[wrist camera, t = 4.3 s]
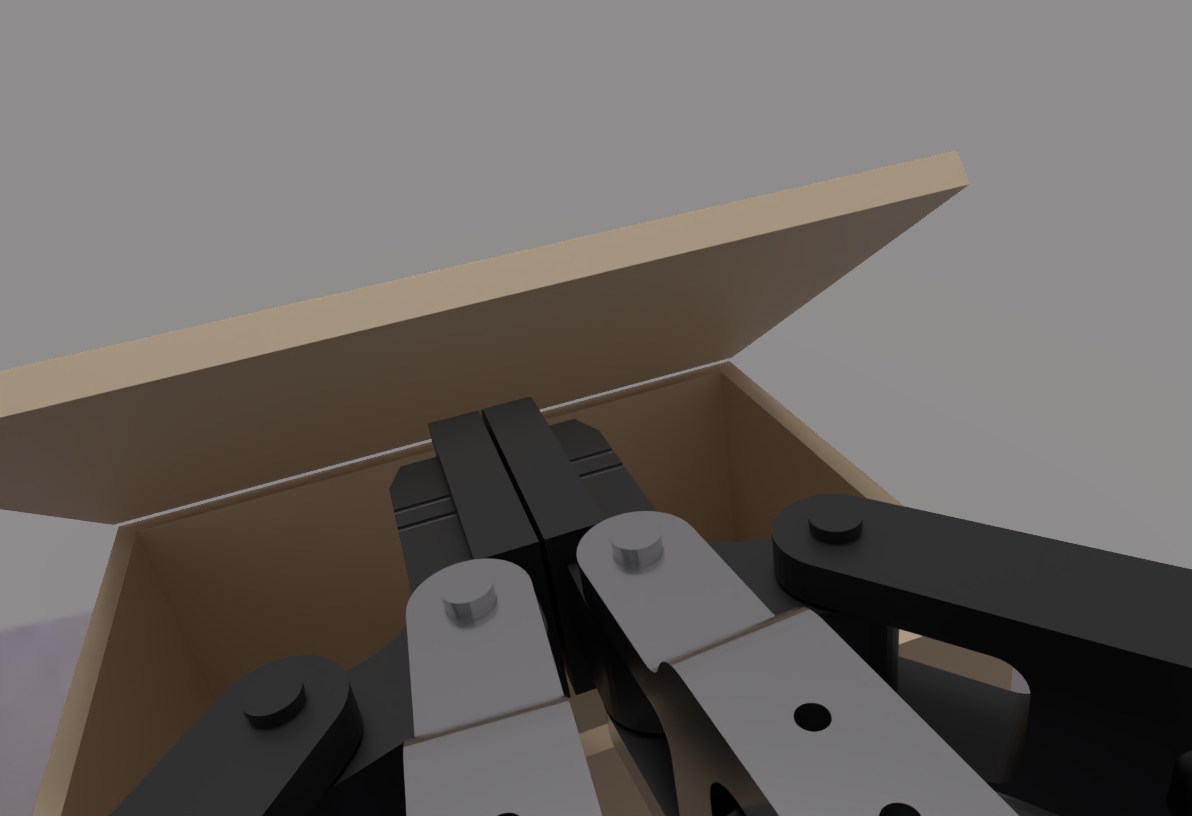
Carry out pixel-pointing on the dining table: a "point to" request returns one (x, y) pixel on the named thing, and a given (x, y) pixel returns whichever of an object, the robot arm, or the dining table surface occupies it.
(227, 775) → the robot arm
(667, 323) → the lid
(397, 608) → the mailer box
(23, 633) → the dining table surface
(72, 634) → the dining table surface
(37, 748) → the dining table surface
